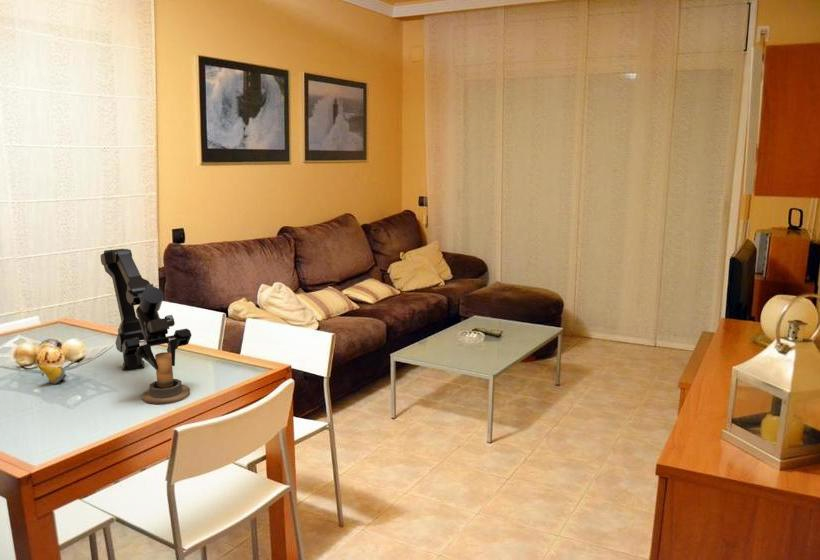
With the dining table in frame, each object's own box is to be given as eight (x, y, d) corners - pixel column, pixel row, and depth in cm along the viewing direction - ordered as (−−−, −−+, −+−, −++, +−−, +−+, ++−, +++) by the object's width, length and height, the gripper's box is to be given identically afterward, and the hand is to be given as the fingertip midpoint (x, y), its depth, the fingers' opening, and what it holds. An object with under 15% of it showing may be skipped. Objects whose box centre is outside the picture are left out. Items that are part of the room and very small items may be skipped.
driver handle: (160, 384, 199) (158, 352, 197) (176, 384, 199) (173, 352, 197) (155, 390, 195) (152, 357, 192) (170, 390, 195) (168, 357, 192)
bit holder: (143, 390, 201) (142, 379, 200) (189, 385, 205) (188, 374, 205) (141, 407, 189) (140, 395, 188) (190, 400, 193) (189, 389, 193)
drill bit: (70, 384, 208) (43, 369, 200) (57, 390, 209) (29, 375, 202) (73, 369, 211) (47, 354, 204) (60, 375, 212) (33, 360, 205)
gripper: (120, 312, 189) (136, 360, 183) (186, 302, 200) (203, 347, 194) (115, 332, 197) (130, 379, 191) (179, 321, 208) (195, 365, 202)
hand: (165, 367), depth 194 cm, fingers closed on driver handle, 4 cm apart
